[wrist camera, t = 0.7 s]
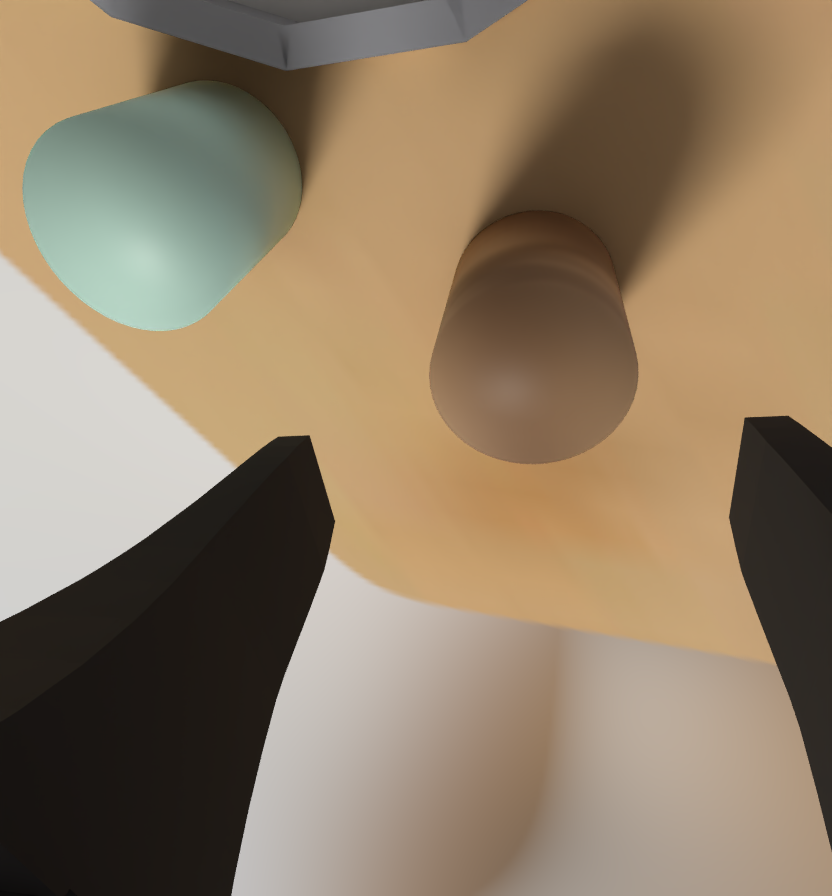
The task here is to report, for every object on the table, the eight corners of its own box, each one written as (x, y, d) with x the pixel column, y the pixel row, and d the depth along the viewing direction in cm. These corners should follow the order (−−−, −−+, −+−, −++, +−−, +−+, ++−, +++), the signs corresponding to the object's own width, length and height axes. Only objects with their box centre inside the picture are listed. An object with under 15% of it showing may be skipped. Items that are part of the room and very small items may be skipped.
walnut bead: (618, 201, 16) (643, 274, 12) (613, 358, 19) (633, 461, 15) (444, 219, 17) (416, 293, 13) (461, 367, 20) (442, 466, 16)
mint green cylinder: (277, 67, 16) (187, 97, 12) (319, 247, 18) (256, 323, 14) (116, 93, 17) (-18, 130, 13) (177, 262, 19) (80, 337, 15)
